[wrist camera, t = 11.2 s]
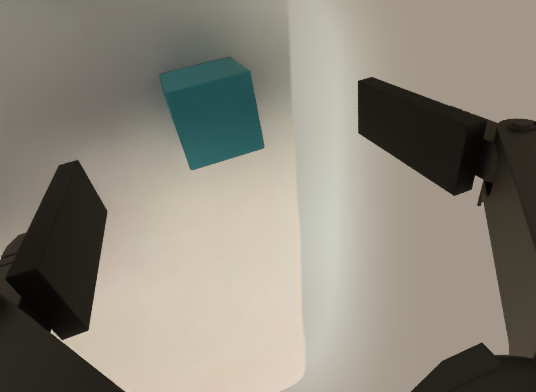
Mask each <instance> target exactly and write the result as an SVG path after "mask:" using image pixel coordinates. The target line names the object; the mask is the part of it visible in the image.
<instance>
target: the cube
mask: <svg viewBox="0 0 536 392" xmlns="http://www.w3.org/2000/svg"><path fill="white" fill-rule="evenodd" d="M160 80H161V84H162V88H163V92H164V96H165V99H166V102H167V104H168V107H169V110H170V113H171V116H172V119H173V121H174V124H175V127H176V130H177V133H178V136H179V138H180V141H181V144H182V147H183V150H184V153H185V155H186V158H187V161H188V164H189V167H190V169H191V170H195V169H198V168H201V167H204V166H208V165H211V164H214V163H217V162H221V161H224V160H227V159H230V158H234V157H237V156H240V155H243V154H247V153H250V152H253V151H256V150H260V149H263V148H264V141H263V136H262V131H261V126H260V120H259V115H258V110H257V105H256V99H255V94H254V89H253V84H252V78H251V73H250V71H249V70H248V69H246V68H245V67H243V66H242V65H241V64H239V63H238V62H237V61H235V60H234V59H233V58H231V57H226V58H223V59H219V60H215V61H211V62H207V63H203V64H199V65H195V66H191V67H187V68H183V69H179V70H175V71H171V72H167V73H163V74H160Z"/></svg>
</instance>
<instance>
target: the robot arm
mask: <svg viewBox="0 0 536 392" xmlns="http://www.w3.org/2000/svg"><path fill="white" fill-rule="evenodd" d="M358 131H359V132H358V133H359V134H361V135H362V136H364V137H365V138H367V139H368V140H370V141H371V142H373V143H374V144H376V145H377V146H379V147H381V148H382V149H384V150H385V151H387V152H388V153H390V154H391V155H393V156H394V157H396V158H397V159H399V160H400V161H402V162H403V163H405V164H406V165H408V166H409V167H411V168H412V169H414V170H416V171H417V172H419V173H420V174H422V175H423V176H425V177H426V178H428V179H429V180H431V181H432V182H434V183H435V184H437V185H439V186H440V187H441V188H443V189H445V190H446V191H448V192H449V193H451V194H452V195H454V196H455V195H458V194H461V193H464V192H466V191H469V190H471V189H472V186H473V181H474V177H475V175H476V176H478V177H480V178H482V179H483V180H484V181H483V184H482V188H481V192H480V196H479V200H478V204H477V205H478V206H481V203H482V202H484V207H485V212H486V218H487V224H488V229H489V235H490V240H491V246H492V252H493V257H494V262H495V268H496V274H497V280H498V285H499V291H500V296H501V302H502V308H503V312H504V319H505V324H506V330H507V336H508V341H509V355H494V354H493V353H492V352H491V351H490V350H489V349H488V348H487V347H486V346H485V345H484V344H483V343H480V344H478V345H476V346H474V347H471V348H469V349H467V350H465V351H463V352H461V353H459V354H456V355H454V356H452V357H450V358H448V359H446V360H443V361H442V362H441V363H440V364H439V365H438V366H437V367H436V368H435V369H434V370H433V371H432V372H431V373H429V375H428V376H427V377H426V378H425V379H424V380H422V381H421V382H420V383H419V384H418V386H416V387H415V388H414V389H413V390H412V391H411V392H536V121H533V120H527V119H507V120H503V121H501V122H499V123H496V122H493V121H491V120H488V119H485V118H483V117H480V116H477V115H474V114H471V113H469V112H466V111H463V110H461V109H458V108H456V107H453V106H448V105H445V104H443V103H440V102H438V101H435V100H432V99H430V98H427V97H424V96H422V95H419V94H416V93H413V92H411V91H408V90H405V89H403V88H400V87H397V86H395V85H392V84H389V83H387V82H384V81H381V80H378V79H376V78H373V77H370V78H367V79H363V80H359V81H358ZM106 217H107V210H106V208H105V206H104V204H103V203H102V201H101V199H100V197H99V196H98V194H97V192H96V190H95V189H94V187H93V185H92V183H91V182H90V180H89V178H88V176H87V175H86V173H85V171H84V169H83V168H82V166H81V164H80V162H79V161H78V160H76V161H72V162H69V163H65V164H61V165H59V166H58V168H57V170H56V172H55V174H54V177H53V179H52V181H51V183H50V185H49V187H48V189H47V191H46V193H45V195H44V197H43V199H42V202H41V204H40V206H39V208H38V210H37V212H36V214H35V216H34V218H33V220H32V222H31V224H30V227H29V229H28V231H27V233H24V234H21V235H18V236H17V237H16V238H15V239H14V240H13V241H12V242H11V243H10V244H9V245H8V246H7V247H6V249H5V251H4V253H3V255H2V257H1V260H0V392H125V391H123V390H122V389H121V388H120V387H118V386H117V385H116V384H115V383H113V382H112V381H111V380H110V379H108V378H107V377H106V376H104V375H103V374H102V373H101V372H99V371H98V370H97V369H96V368H94V367H93V366H92V365H91V364H89V363H88V362H87V361H85V360H84V359H83V358H82V357H80V356H79V355H78V354H77V353H75V352H74V351H73V350H72V349H70V348H69V347H68V346H66V345H65V344H64V343H63V342H61V341H60V340H59V339H58V338H56V337H55V336H54V335H53V334H51V333H50V332H51V329H52V330H53V331H54V332H55V333H56V334H57V335H58V336H59V337H60V338H61V340H64V339H66V338H69V337H72V336H75V335H77V334H80V333H83V332H86V331H88V330H89V324H90V318H91V311H92V305H93V299H94V292H95V286H96V280H97V274H98V267H99V261H100V255H101V248H102V242H103V236H104V230H105V223H106Z"/></svg>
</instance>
